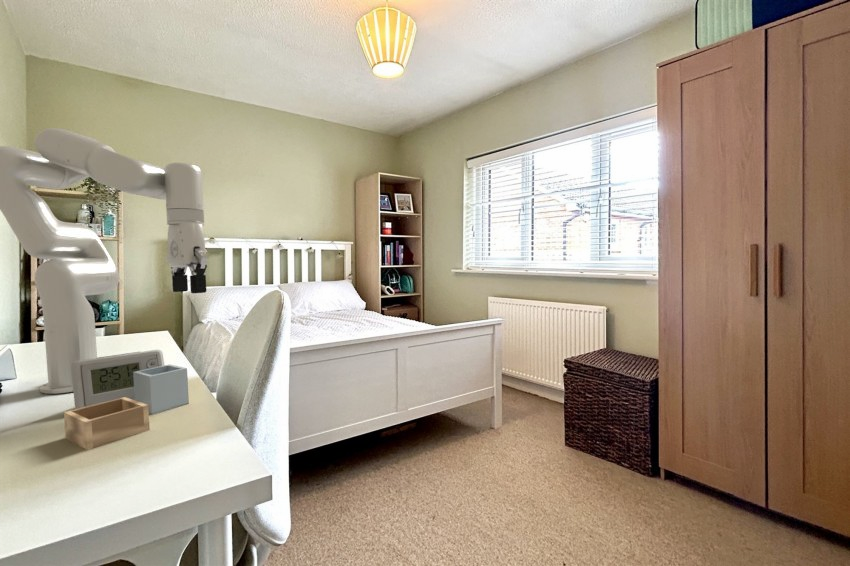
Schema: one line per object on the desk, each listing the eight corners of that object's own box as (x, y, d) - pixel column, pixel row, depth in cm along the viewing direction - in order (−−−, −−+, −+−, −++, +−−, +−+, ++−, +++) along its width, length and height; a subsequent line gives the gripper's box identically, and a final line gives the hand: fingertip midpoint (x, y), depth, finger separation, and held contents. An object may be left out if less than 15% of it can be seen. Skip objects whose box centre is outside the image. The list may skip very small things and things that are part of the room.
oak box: (65, 441, 71) (63, 412, 71) (126, 423, 79) (124, 396, 78) (87, 453, 66) (85, 422, 66) (149, 433, 74) (148, 405, 73)
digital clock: (71, 420, 81) (67, 365, 81) (77, 407, 89) (74, 357, 88) (169, 402, 90) (166, 353, 90) (167, 392, 98) (165, 346, 97)
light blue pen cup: (135, 411, 85) (133, 371, 85) (171, 400, 91) (169, 364, 91) (152, 417, 81) (149, 376, 81) (189, 406, 87) (186, 368, 87)
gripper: (153, 220, 100) (157, 292, 101) (184, 214, 89) (188, 294, 90) (186, 222, 106) (190, 290, 107) (219, 216, 95) (223, 292, 96)
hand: (189, 292), depth 99 cm, fingers open, 9 cm apart
